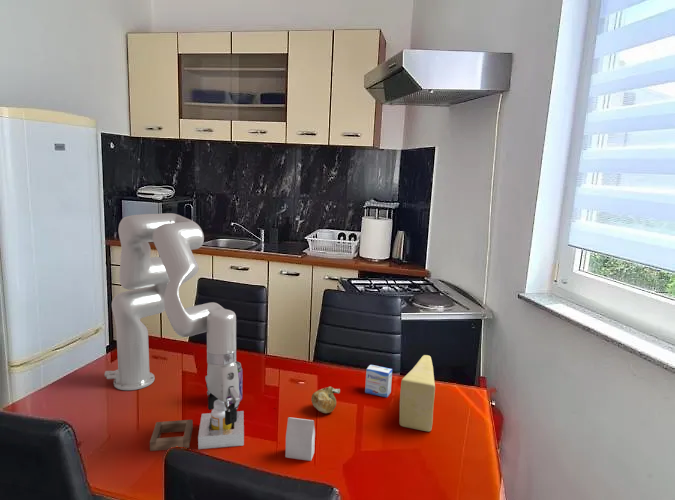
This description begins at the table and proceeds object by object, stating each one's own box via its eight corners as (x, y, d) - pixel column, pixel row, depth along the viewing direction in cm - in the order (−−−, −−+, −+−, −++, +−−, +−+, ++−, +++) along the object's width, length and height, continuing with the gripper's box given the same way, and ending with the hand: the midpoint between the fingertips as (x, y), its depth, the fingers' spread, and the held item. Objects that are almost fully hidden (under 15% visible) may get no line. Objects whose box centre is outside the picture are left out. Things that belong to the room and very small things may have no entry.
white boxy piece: (311, 460, 117) (312, 424, 115) (285, 457, 118) (286, 421, 116) (314, 452, 120) (315, 417, 119) (289, 449, 121) (290, 413, 120)
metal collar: (198, 449, 120) (198, 436, 119) (201, 425, 131) (201, 413, 130) (243, 445, 122) (243, 433, 121) (243, 422, 133) (243, 410, 133)
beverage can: (236, 407, 141) (236, 370, 139) (215, 404, 142) (215, 368, 140) (246, 396, 148) (246, 361, 146) (225, 394, 149) (225, 359, 147)
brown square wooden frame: (150, 451, 118) (149, 442, 118) (156, 430, 127) (156, 422, 127) (189, 447, 120) (188, 439, 120) (192, 427, 129) (192, 419, 129)
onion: (321, 401, 147) (321, 378, 145) (341, 410, 142) (342, 385, 141) (305, 411, 140) (306, 386, 139) (326, 420, 136) (327, 395, 135)
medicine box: (364, 393, 153) (365, 368, 152) (368, 387, 158) (370, 363, 156) (387, 398, 151) (388, 373, 149) (391, 392, 155) (392, 368, 153)
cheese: (410, 393, 155) (413, 350, 152) (440, 398, 152) (443, 355, 149) (397, 426, 134) (400, 378, 132) (431, 433, 131) (435, 384, 129)
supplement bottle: (231, 428, 130) (231, 396, 128) (231, 439, 124) (231, 406, 123) (212, 429, 129) (211, 397, 127) (210, 441, 123) (210, 407, 122)
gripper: (251, 363, 119) (250, 424, 122) (219, 343, 131) (219, 399, 134) (224, 370, 114) (224, 434, 117) (194, 349, 126) (195, 407, 129)
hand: (222, 415), depth 125 cm, fingers open, 9 cm apart
